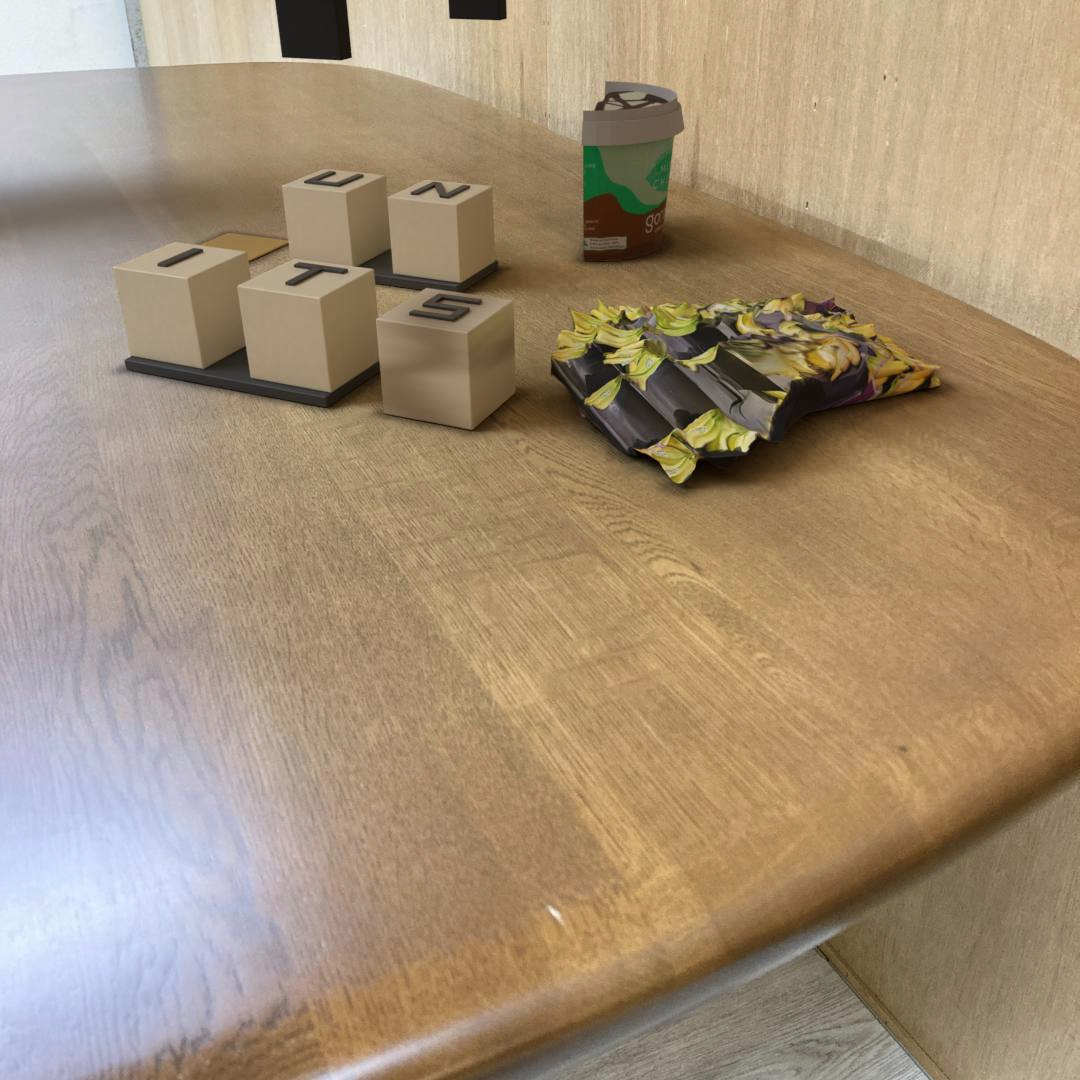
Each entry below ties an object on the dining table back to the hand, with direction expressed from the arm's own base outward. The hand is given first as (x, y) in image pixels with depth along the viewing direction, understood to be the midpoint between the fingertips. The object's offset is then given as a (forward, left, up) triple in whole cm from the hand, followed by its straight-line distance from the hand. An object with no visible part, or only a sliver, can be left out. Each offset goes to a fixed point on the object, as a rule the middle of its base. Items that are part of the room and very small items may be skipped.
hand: (406, 37), depth 49 cm
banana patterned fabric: (+15, +7, -17) cm, 24 cm away
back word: (-18, +19, -17) cm, 31 cm away
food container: (0, +31, -17) cm, 35 cm away
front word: (-11, 0, -17) cm, 20 cm away
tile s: (+1, +1, -17) cm, 17 cm away
